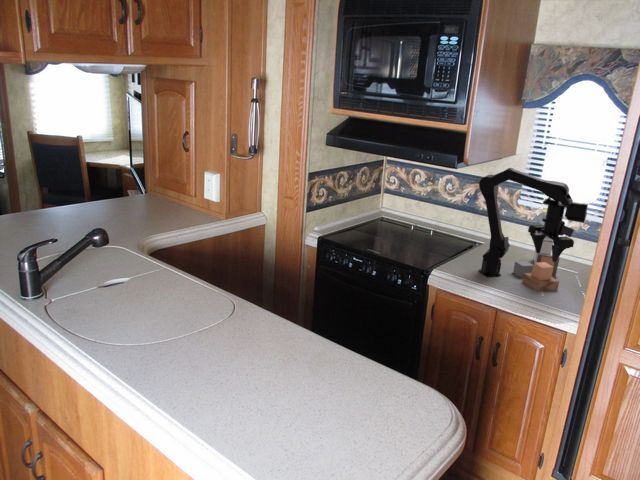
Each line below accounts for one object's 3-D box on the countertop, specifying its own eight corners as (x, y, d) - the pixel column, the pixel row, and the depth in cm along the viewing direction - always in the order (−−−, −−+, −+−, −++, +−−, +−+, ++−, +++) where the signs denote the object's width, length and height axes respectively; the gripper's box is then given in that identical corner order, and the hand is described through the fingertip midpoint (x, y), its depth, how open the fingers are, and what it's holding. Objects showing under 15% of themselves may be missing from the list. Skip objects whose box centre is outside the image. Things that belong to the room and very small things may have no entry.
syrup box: (549, 266, 231) (556, 233, 227) (534, 264, 232) (541, 231, 228) (546, 261, 237) (553, 229, 232) (532, 259, 238) (538, 227, 233)
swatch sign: (533, 274, 221) (537, 255, 219) (534, 270, 225) (538, 252, 223) (555, 278, 218) (559, 259, 216) (555, 274, 223) (559, 255, 220)
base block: (536, 292, 205) (538, 282, 204) (522, 282, 213) (524, 273, 212) (557, 291, 207) (559, 281, 206) (541, 281, 215) (543, 272, 214)
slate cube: (520, 277, 217) (522, 266, 215) (512, 272, 221) (515, 261, 220) (531, 277, 218) (533, 265, 217) (523, 272, 223) (525, 260, 221)
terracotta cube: (539, 280, 206) (542, 267, 204) (531, 274, 210) (533, 262, 209) (550, 279, 207) (553, 267, 206) (542, 274, 212) (545, 262, 210)
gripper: (590, 224, 195) (581, 265, 200) (555, 209, 212) (547, 248, 217) (564, 225, 192) (555, 267, 197) (530, 210, 209) (523, 249, 214)
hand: (545, 257), depth 206 cm, fingers open, 9 cm apart
